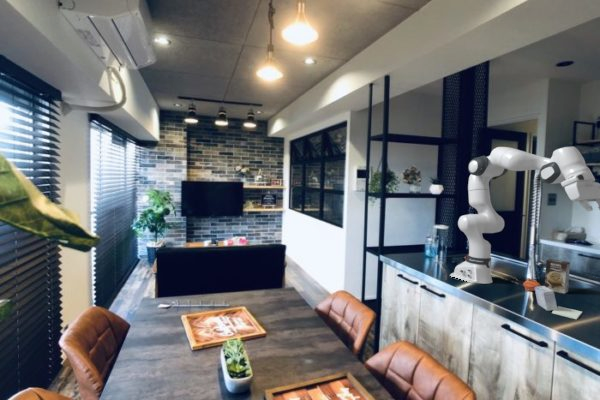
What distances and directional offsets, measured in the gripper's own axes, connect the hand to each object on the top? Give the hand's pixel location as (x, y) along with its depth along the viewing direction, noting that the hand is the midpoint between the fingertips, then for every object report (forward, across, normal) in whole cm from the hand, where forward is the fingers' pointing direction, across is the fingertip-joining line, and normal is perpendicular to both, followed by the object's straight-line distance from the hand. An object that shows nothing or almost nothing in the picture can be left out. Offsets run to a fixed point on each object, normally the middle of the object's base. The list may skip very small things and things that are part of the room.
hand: (596, 210), depth 135 cm
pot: (+26, -17, -52) cm, 61 cm away
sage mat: (+37, -1, -30) cm, 47 cm away
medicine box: (+34, +1, -35) cm, 49 cm away
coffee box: (+28, -31, -49) cm, 64 cm away
